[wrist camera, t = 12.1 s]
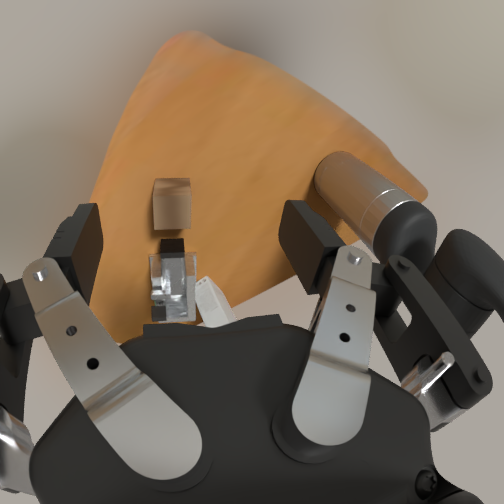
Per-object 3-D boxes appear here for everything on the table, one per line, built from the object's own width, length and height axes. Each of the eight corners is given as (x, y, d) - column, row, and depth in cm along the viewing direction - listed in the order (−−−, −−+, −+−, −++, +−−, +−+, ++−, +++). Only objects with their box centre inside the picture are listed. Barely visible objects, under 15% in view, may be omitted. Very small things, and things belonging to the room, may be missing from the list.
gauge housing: (195, 252, 47) (199, 275, 42) (195, 296, 53) (199, 320, 49) (149, 253, 45) (148, 277, 40) (155, 299, 51) (155, 322, 47)
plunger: (183, 238, 42) (185, 260, 38) (184, 283, 48) (186, 306, 44) (148, 239, 41) (146, 262, 36) (153, 284, 46) (152, 308, 42)
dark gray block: (165, 305, 44) (166, 317, 42) (166, 309, 44) (166, 320, 42) (151, 306, 43) (151, 318, 41) (152, 309, 44) (152, 321, 42)
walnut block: (189, 177, 39) (191, 195, 34) (188, 207, 42) (190, 228, 37) (155, 178, 37) (152, 196, 33) (156, 208, 40) (154, 229, 36)
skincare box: (188, 286, 51) (206, 337, 42) (207, 273, 51) (229, 323, 42) (205, 301, 55) (225, 349, 47) (223, 289, 55) (246, 337, 47)
